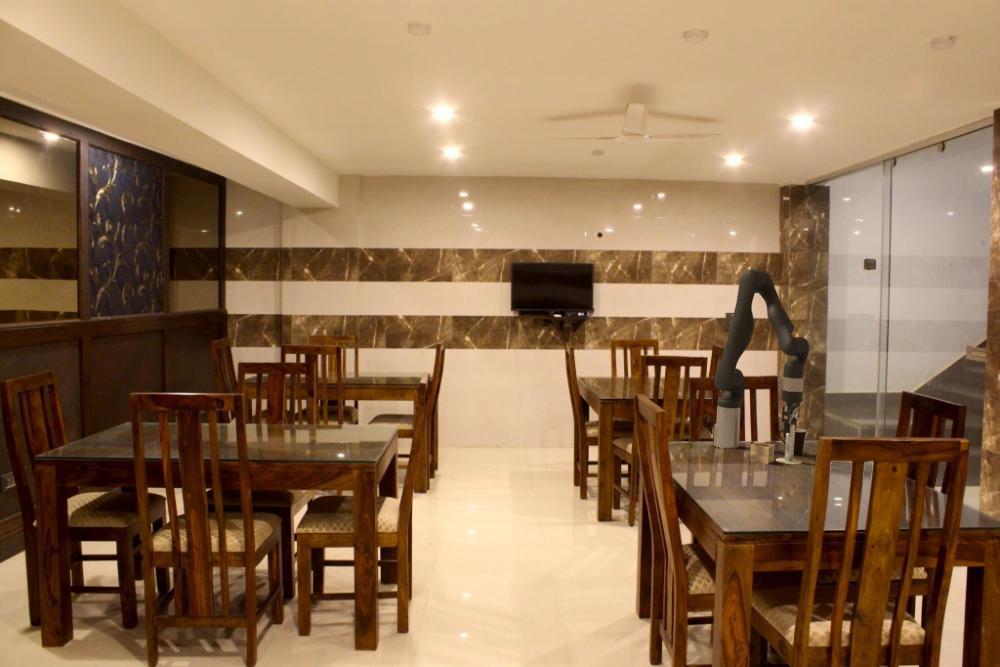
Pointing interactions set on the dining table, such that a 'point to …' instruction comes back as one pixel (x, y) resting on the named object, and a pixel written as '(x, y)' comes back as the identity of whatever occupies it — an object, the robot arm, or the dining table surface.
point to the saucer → (782, 460)
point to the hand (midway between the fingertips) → (789, 431)
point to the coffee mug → (796, 441)
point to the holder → (761, 453)
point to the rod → (790, 444)
